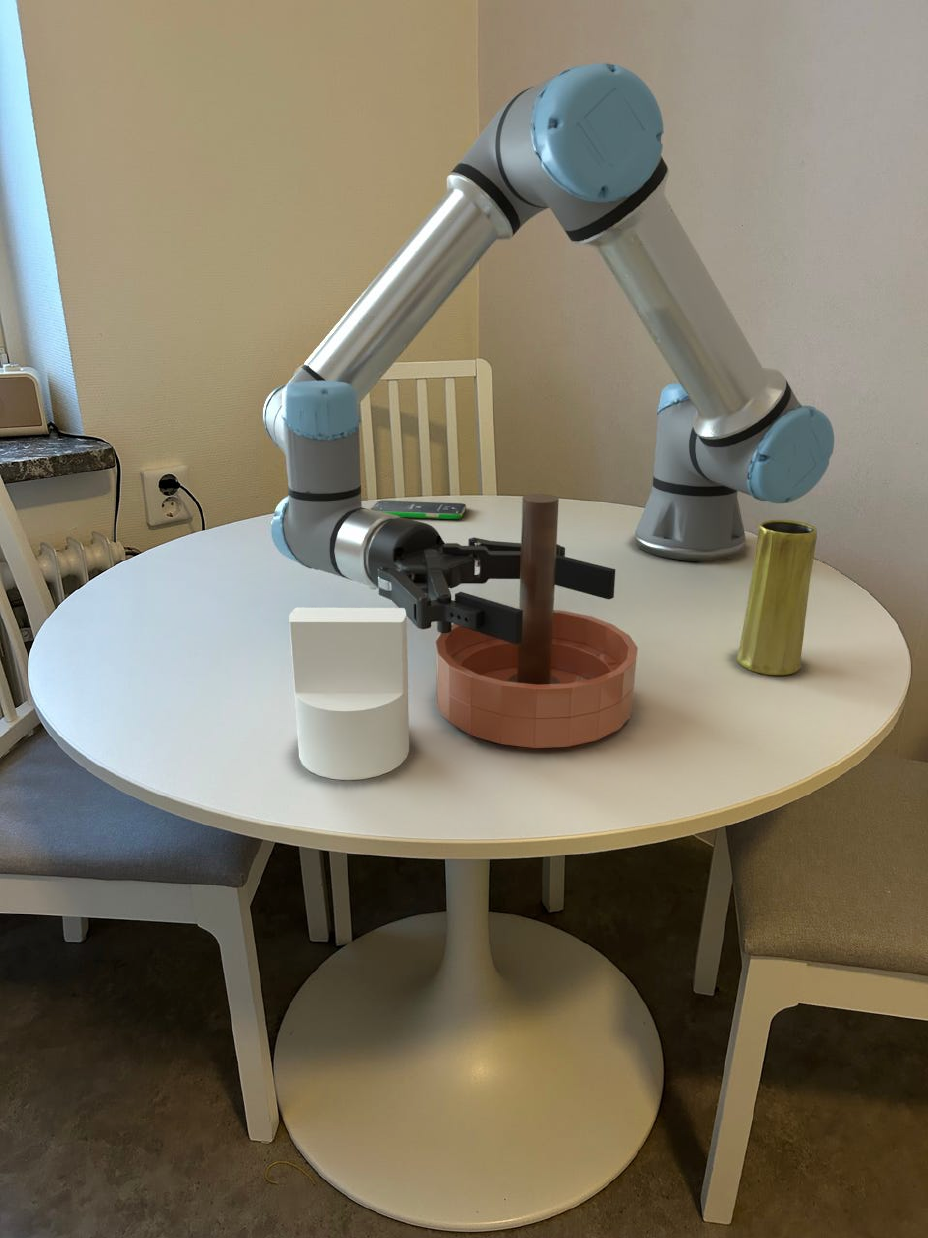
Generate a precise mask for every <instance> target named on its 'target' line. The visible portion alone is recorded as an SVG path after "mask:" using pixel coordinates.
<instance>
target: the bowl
mask: <svg viewBox="0 0 928 1238" xmlns="http://www.w3.org/2000/svg"><path fill="white" fill-rule="evenodd" d="M439 634H440V635H438V637H437V639H436V640H435V681H436V682H435V689H436V690H435V692H436V693H435V695H436V696H435V697H436V702H437V709H438V711H440V713H441V714H442V716H443V717H445V719H446V720H447V721H448V723H450V724H451V725H453V726H455V727H456V728H458V729H460V730H461V731H463V732H465V733H467V734H469V735H470V736H473V737H476V738H478V739H482V740H486V741H490V742H493V743H495V744H500V745H507V746H514V747H524V748H530V749H545V748H568V747H572V746H573V747H574V746H577V745H583V744H586V743H591V742H595V741H598V740H600V739H602V738H605V737H606V736H608V735H610V734H613V733H615V732H617V731H619V730H620V729H621V728H622V727H623V726H624V725H625V724H626V723H627V721H628V720H629V719H630V718H631V717H632V715H633V713H632V712H633V705H634V694H635V683H636V671H637V670H636V669H637V659H638V646H637V644H636V643H635V642H634V640H633V639H632V637H631V636H630V635H629V634H628V633H626V632H625V631H624V630H622V629H620V628H619V627H617V626H616V625H614V624H613V623H610V622H607V621H604V620H602V619H600V618H597V617H594V616H591V615H585V614H581V613H576V612H571V611H567V610H558V609H554V613H553V635H552V657H551V675H552V676H554V677H556V678H557V679H558V680H559V682H560V684H542V685H536V684H527V683H517V682H507V681H508V679H509V678H510V677H511V676H512V675H515V674H517V665H518V644H517V645H515V644H512V643H509V642H506V641H503V640H500V639H498V638H495V637H492V636H489V635H486V634H483V633H480V632H477V631H474V630H471V629H468V628H465V627H462V626H459V625H456V624H454V623H452V631H451V632H450V633H439Z"/></svg>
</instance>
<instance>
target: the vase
mask: <svg viewBox="0 0 928 1238" xmlns="http://www.w3.org/2000/svg"><path fill="white" fill-rule="evenodd" d="M757 531H758V532H757V539H756V547H755V554H754V560H753V561H754V562H753V566H752V573H751V580H750V584H749V592H748V598H747V605H746V610H745V615H744V619H743V624H742V625H743V626H742V632H741V637H740V642H739V643H740V644H739V648H738V652H737V655H736V659H737V662H738V663H739V665H740V666H742V667H744V668H745V669H746V670H748V671H751V672H753V673H758V674H761V675H766V676H778V677H780V676H787V675H792V674H795V673H797V672H798V671H799V670H801V668H802V654H803V653H802V652H803V644H804V635H805V626H806V618H807V610H808V608H807V607H808V603H809V602H808V600H809V592H810V585H811V578H812V577H811V576H812V570H813V564H814V557H815V551H816V543H817V538H818V528H817V527H815V526H814V525H812V524H809V523H807V522H803V521H798V520H790V519H768V520H764V521H761V522H760V523H759V526H758V530H757Z"/></svg>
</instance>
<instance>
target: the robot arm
mask: <svg viewBox="0 0 928 1238" xmlns="http://www.w3.org/2000/svg"><path fill="white" fill-rule="evenodd" d="M664 133H665V130H664V121H663V115H662V112H661V108H660V106H659V103H658V101H657V99H656V97H655V95H654V93H653V92H652V90H651V89H650V87H649V86H648V84H646V82H644V81H643V79H641V77H639V76H638V75H637V74H636V73H634V72H633V71H631V70H630V69H628V68H626V67H623V66H621V65H618V64H612V63H609V62H608V63H607V62H597V63H596V62H595V63H591V64H583V65H576V66H572V67H570V68H567V69H565V70H563V71H561V72H560V73H558V74H556V75H554V76H552V77H550V78H548V79H547V80H544V81H542V82H541V83H539V84H536V85H534V86H531V87H528V88H526V89H524V90H522V91H520V92H519V93H516V94H515V95H514V96H513V97H512V98H510V99H509V100H508V101H507V102H506V103H505V104H504V105H503V106H502V107H501V108H500V109H499V110H498V111H497V112H496V114H495V115H494V116H493V117H492V119H491V120H490V122H489V123H488V124H487V125H486V126H485V128H484V129H483V130H482V132H481V133H480V134H479V136H478V137H477V138H476V140H474V142H473V144H472V145H471V146H470V147H469V149H468V150H467V151H466V153H465V154H464V155H463V157H462V158H461V159H460V161H459V162H458V163H457V164H456V165H455V167H454V168H453V169H452V170H451V171H450V172H449V173H448V175H447V177H446V192H445V194H444V195H443V196H442V197H441V199H440V200H439V201H438V202H437V203H436V205H435V206H434V207H433V208H432V209H431V210H430V212H429V213H428V214H427V215H426V217H425V218H424V219H423V220H422V221H421V223H420V224H418V226H417V227H416V228H415V230H414V231H413V232H412V233H411V235H410V236H409V237H408V238H407V239H406V240H405V242H403V245H401V247H400V248H399V249H398V250H397V251H396V252H395V254H394V255H393V256H392V257H391V259H390V260H389V261H388V262H387V264H386V265H385V266H384V267H382V270H381V271H380V272H379V273H378V274H377V275H376V276H375V278H374V279H373V280H372V281H371V283H370V284H369V285H368V286H367V288H365V290H364V291H363V292H362V293H361V294H360V295H359V297H358V298H357V299H356V301H354V303H353V304H352V306H350V308H349V309H348V310H347V311H346V312H345V314H344V315H343V316H342V317H341V319H340V320H339V321H338V322H337V323H336V325H335V326H334V327H333V328H332V330H331V331H330V332H329V333H328V334H327V336H326V337H325V338H324V339H323V340H322V341H321V343H320V344H319V345H318V346H317V347H316V349H315V350H314V351H313V352H312V353H311V355H310V356H309V357H308V359H306V361H305V362H304V364H303V365H302V366H301V367H300V368H299V369H298V370H297V371H296V373H295V374H294V375H293V376H292V377H291V379H290V380H289V381H288V382H287V383H286V384H282V385H281V386H279V387H277V388H275V389H274V390H272V391H271V393H270V394H269V395H268V396H267V397H266V400H265V402H264V405H263V409H262V421H263V424H264V428H265V431H266V433H267V435H268V437H269V438H270V440H271V441H272V443H273V444H274V445H275V446H276V447H277V448H278V449H279V450H281V451H282V452H283V454H284V455H285V462H286V473H287V484H288V487H287V489H288V496H286V497H284V498H283V499H282V500H281V501H280V502H279V503H278V504H277V506H276V507H275V510H274V515H273V518H272V520H271V522H270V536H271V539H272V542H273V545H274V546H275V548H276V550H277V551H279V553H280V554H281V555H282V556H284V557H285V558H287V559H289V560H291V561H294V562H295V563H297V564H300V565H301V566H303V567H306V568H308V569H310V570H316V571H317V570H319V571H322V572H325V573H328V574H331V575H335V576H338V577H342V578H344V579H347V580H350V581H353V582H356V583H359V584H363V585H365V586H368V588H369V589H370V590H377V589H378V595H379V596H381V597H383V598H385V599H388V600H389V601H391V602H392V603H393V604H394V605H395V606H396V608H404V609H405V610H406V618H408V620H409V621H411V623H412V624H413V625H414V626H415V627H416V628H418V629H420V630H428V629H431V627H432V623H434V622H436V629H437V633H439V634H441V633H450V632H451V631H452V624H456V625H459V626H462V627H465V628H468V629H471V630H474V631H477V632H480V633H483V634H486V635H489V636H492V637H495V638H498V639H500V640H503V641H506V642H509V643H512V644H515V645H517V644H519V643H521V642H522V624H523V610H520V609H519V608H517V607H513V606H510V605H506V604H503V603H500V602H497V601H493V600H490V599H486V598H483V597H480V596H476V595H474V594H470V593H467V592H463V591H458V592H456V593H454V600H453V599H452V593H451V589H454V588H456V587H458V586H460V585H462V584H463V585H464V584H465V585H466V584H471V585H472V584H474V585H481V584H482V585H483V584H486V583H488V581H489V580H520V563H521V542H512V541H511V542H509V541H497V540H488V539H484V538H479V537H470V538H468V540H467V541H468V543H467V544H468V545H461V544H460V543H458V542H446V543H445V541H444V540H443V538H442V537H441V535H440V533H439V532H438V530H437V529H436V528H435V527H434V526H432V525H430V524H429V523H426V522H423V521H417V520H414V519H410V518H408V517H399V516H397V515H393V514H388V513H384V512H380V511H375V510H371V508H365V507H363V506H362V505H363V503H362V502H363V501H362V480H361V479H362V478H361V446H360V443H361V442H360V441H361V440H360V423H361V416H360V414H359V413H360V412H359V407H358V406H359V404H361V402H362V401H363V400H364V399H365V398H366V397H367V396H368V394H369V393H370V392H371V391H372V390H373V388H374V387H375V386H376V385H377V384H378V382H379V381H380V380H381V379H382V378H383V377H384V375H386V373H387V372H388V370H389V369H390V368H391V367H393V365H394V363H395V362H396V361H397V360H398V359H399V357H400V356H401V355H402V354H403V353H404V352H405V351H406V349H407V348H408V347H409V346H410V344H412V343H413V341H414V340H415V339H416V338H417V337H418V335H419V334H420V333H421V332H422V330H423V329H424V328H425V327H426V326H427V324H428V323H429V322H430V321H431V320H432V319H433V318H434V316H435V315H436V314H437V313H438V311H439V310H440V309H441V308H442V307H443V306H444V305H445V303H446V302H447V301H448V300H449V299H450V297H451V296H452V295H453V294H454V293H455V291H456V290H457V289H458V288H459V287H460V285H461V284H462V283H463V282H464V281H465V279H467V277H468V276H469V275H470V274H471V272H472V271H473V270H474V269H475V268H476V267H477V265H478V264H479V263H480V261H482V260H483V258H484V257H485V256H486V255H487V253H488V252H489V251H490V250H491V249H492V248H493V246H494V245H495V244H496V243H499V242H508V241H510V240H511V239H512V238H513V237H514V235H516V233H517V232H518V231H519V230H520V229H521V227H522V226H524V225H525V224H526V223H527V222H528V221H530V220H531V219H532V218H533V217H535V216H536V215H538V214H539V213H541V212H543V211H545V210H548V209H550V211H551V212H552V214H553V215H554V217H555V219H556V220H557V222H558V223H559V225H560V226H561V228H562V229H563V230H564V232H565V234H566V235H567V237H568V238H569V240H570V241H571V242H572V243H573V244H574V245H580V246H587V247H591V248H593V249H594V251H595V253H596V254H597V256H598V257H599V258H600V260H601V262H602V263H603V265H604V266H605V268H606V270H607V271H608V273H609V275H610V276H611V277H612V279H613V280H614V282H615V284H616V286H617V287H618V288H619V290H620V292H621V293H622V295H623V296H624V298H625V299H626V301H627V303H628V304H629V306H630V308H631V309H632V311H633V312H634V313H635V316H637V318H638V320H639V321H640V323H641V325H642V326H643V328H644V329H645V331H646V332H647V335H648V336H649V337H650V338H651V341H652V342H653V344H654V345H655V347H656V348H657V350H658V352H659V353H660V354H661V356H662V357H663V359H664V360H665V362H666V364H667V365H668V367H669V369H670V370H671V371H672V373H673V375H674V376H675V378H676V379H677V381H678V382H674V383H672V382H671V383H669V384H667V385H666V386H665V387H664V388H663V389H662V391H661V393H660V398H659V403H658V408H657V412H656V415H657V423H656V424H657V426H656V438H655V449H654V451H655V452H654V460H653V461H654V463H653V475H652V485H651V492H650V494H649V496H648V499H647V502H646V504H645V506H644V509H643V511H642V514H641V515H640V519H639V521H638V523H637V526H636V529H635V535H634V545H636V547H637V548H639V549H640V550H642V551H644V552H646V553H648V554H651V555H654V556H657V557H661V558H665V559H672V560H677V561H678V560H679V561H687V562H689V561H690V562H716V561H717V562H718V561H724V560H729V559H734V558H736V557H738V556H740V555H742V554H743V553H744V552H745V546H746V532H745V527H744V522H743V518H742V513H741V508H740V503H739V498H738V492H740V493H742V494H746V495H748V496H751V497H752V498H753V499H755V500H758V501H760V502H769V503H772V504H773V503H774V504H787V503H791V502H794V501H797V500H799V499H801V498H802V497H804V496H806V495H808V493H809V492H810V491H812V490H813V489H814V488H815V487H816V486H817V485H818V483H820V481H821V480H822V478H823V477H824V475H825V473H826V472H827V470H828V468H829V465H830V459H831V457H832V456H833V453H834V448H835V431H834V427H833V424H832V422H831V419H830V418H829V417H828V416H827V415H826V414H825V413H824V412H822V411H821V410H819V409H817V407H815V406H811V405H802V404H801V402H800V401H799V400H798V398H797V397H796V394H795V393H794V391H793V389H792V388H791V386H790V384H789V382H788V381H787V379H786V377H785V376H784V375H783V373H782V372H781V371H780V370H778V369H776V368H766V367H763V366H762V364H761V362H760V360H759V358H758V357H757V355H756V354H755V351H754V350H753V348H752V346H751V344H750V343H749V341H748V340H747V337H746V336H745V335H744V332H743V331H742V329H741V326H739V323H738V322H737V320H736V318H735V316H734V315H733V313H732V311H731V309H730V308H729V306H728V304H727V303H726V300H725V299H724V297H723V296H722V294H721V292H720V289H718V287H717V285H716V283H715V281H714V279H713V277H712V276H711V274H710V273H709V271H708V269H707V268H706V266H705V263H704V262H703V260H702V259H701V257H700V255H699V253H698V251H697V250H696V248H695V246H694V244H693V243H692V240H691V239H690V237H689V235H688V234H687V232H686V230H685V229H684V227H683V225H682V223H681V222H680V220H679V218H678V217H677V215H676V213H675V211H674V209H673V208H672V205H671V204H670V202H669V201H668V199H667V197H666V195H665V189H666V185H667V181H668V178H669V173H670V169H669V167H668V165H667V163H666V161H665V159H664V158H663V156H662V152H663V146H664V145H663V143H662V135H663V134H664ZM476 568H479V572H478V574H477V573H476ZM615 581H616V568H613V567H608V566H605V565H600V564H596V563H592V562H588V561H584V560H581V559H576V558H572V557H568V556H566V547H565V546H562V545H561V544H558V543H557V546H556V569H555V586H557V587H561V588H565V589H568V590H572V591H575V592H579V593H583V594H586V595H590V596H594V597H598V598H601V599H605V600H608V601H609V600H611V599H613V598H614V597H615V596H614V595H615V584H616V583H615Z"/></svg>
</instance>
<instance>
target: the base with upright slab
mask: <svg viewBox="0 0 928 1238" xmlns="http://www.w3.org/2000/svg"><path fill="white" fill-rule="evenodd" d="M407 620H408V619H407V616H406V610H405V609H404V608H398V607H295V608H294V609H293V610H292V611H291V612H290V614H289V617H288V625H289V626H288V627H289V639H290V641H289V642H290V653H291V665H292V666H291V667H292V679H293V680H292V681H293V693H294V694H293V695H294V708H295V716H296V717H295V718H296V719H295V720H296V721H295V722H296V733H297V748H298V758H299V761H300V763H301V765H302V766H303V767H304V768H305V769H306V770H307V771H309V772H310V773H313V774H315V775H317V776H320V777H323V778H327V779H331V780H340V781H341V780H342V781H354V780H356V781H357V780H366V779H371V778H375V777H376V778H377V777H379V776H381V775H384V774H386V773H389V772H392V771H394V769H397V768H398V767H400V766H401V765H402V764H403V763H404V762H405V760H406V759H407V758H408V755H409V754H410V753H409V752H410V720H409V718H410V717H409V715H410V714H409V673H408V672H409V670H408V669H409V668H408V626H407V625H408V623H407V622H408V621H407Z"/></svg>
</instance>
